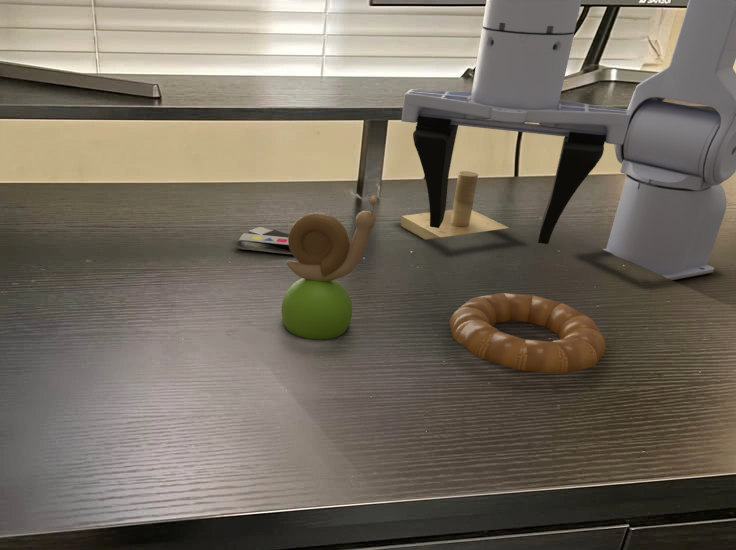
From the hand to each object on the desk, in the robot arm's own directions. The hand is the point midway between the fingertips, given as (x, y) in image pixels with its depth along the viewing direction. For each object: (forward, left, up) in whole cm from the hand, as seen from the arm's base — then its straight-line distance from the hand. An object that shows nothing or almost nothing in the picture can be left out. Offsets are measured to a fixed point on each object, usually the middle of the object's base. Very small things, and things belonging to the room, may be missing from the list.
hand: (488, 231), depth 55 cm
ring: (-3, +3, -8) cm, 9 cm away
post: (-15, -21, -9) cm, 27 cm away
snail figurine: (+11, -4, -9) cm, 15 cm away
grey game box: (+6, -23, -9) cm, 26 cm away
